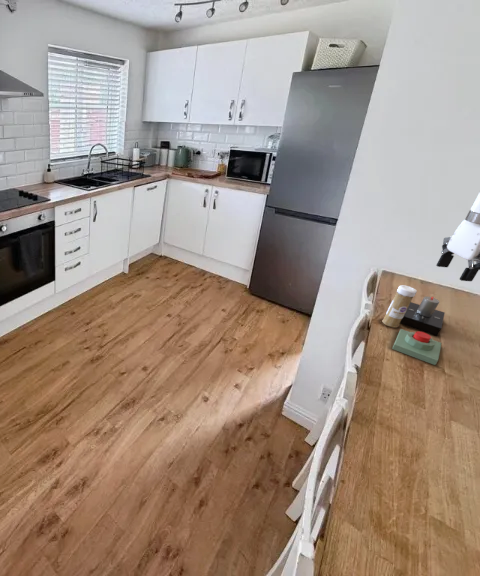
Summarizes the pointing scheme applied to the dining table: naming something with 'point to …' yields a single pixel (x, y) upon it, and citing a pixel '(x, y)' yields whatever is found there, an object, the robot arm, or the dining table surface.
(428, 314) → the dial
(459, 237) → the robot arm
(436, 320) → the panel
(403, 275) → the dining table surface
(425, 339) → the button
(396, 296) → the sprinkles bottle
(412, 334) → the button box
